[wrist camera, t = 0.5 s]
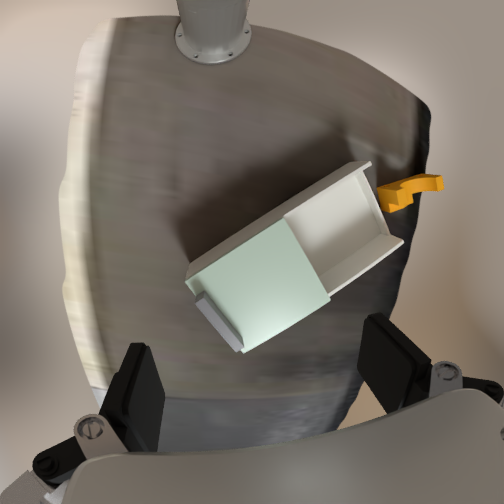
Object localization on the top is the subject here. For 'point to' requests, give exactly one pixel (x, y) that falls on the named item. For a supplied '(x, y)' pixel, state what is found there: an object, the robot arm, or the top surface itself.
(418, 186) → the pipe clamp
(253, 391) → the top surface
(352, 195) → the housing
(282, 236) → the lid
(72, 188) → the top surface
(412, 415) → the robot arm
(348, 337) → the top surface
